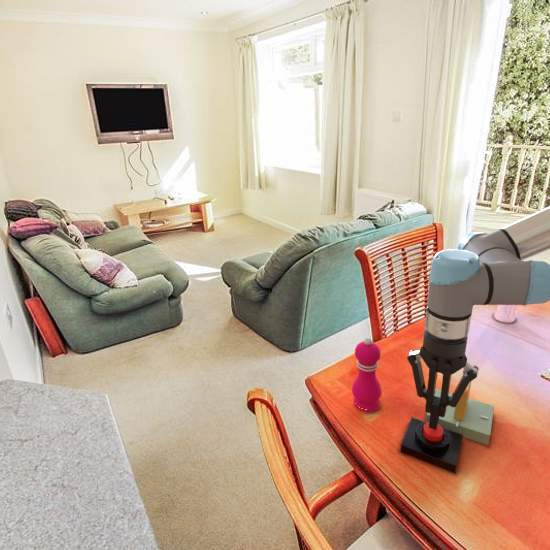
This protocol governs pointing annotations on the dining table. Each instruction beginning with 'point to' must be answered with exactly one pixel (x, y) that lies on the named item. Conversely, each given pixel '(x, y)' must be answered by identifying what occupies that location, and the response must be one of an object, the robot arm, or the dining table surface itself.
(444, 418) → the plate
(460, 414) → the handle
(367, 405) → the pepper mill
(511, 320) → the beer glass
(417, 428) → the button block
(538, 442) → the dining table surface
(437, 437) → the button
